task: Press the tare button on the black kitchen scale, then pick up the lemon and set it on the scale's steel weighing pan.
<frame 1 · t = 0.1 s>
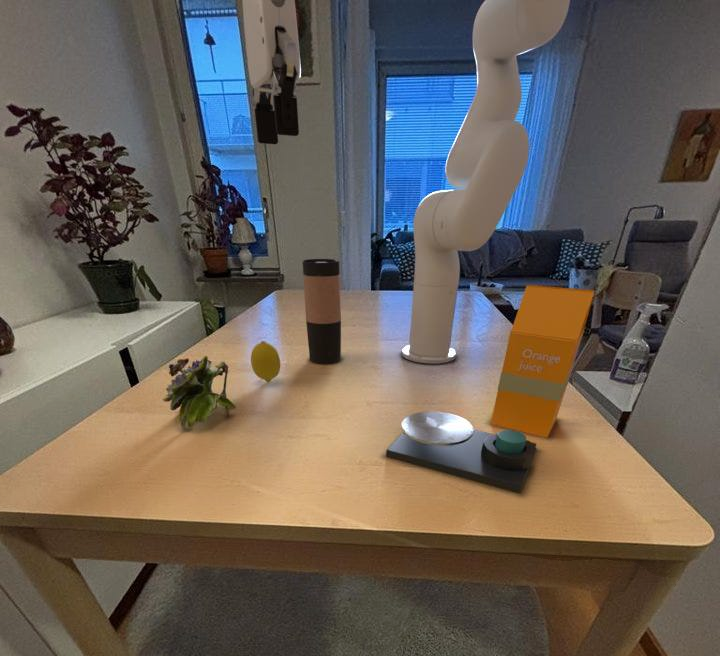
hand: (277, 139, 60), 37 cm above the table, tool pointing down, fingers open, 9 cm apart
lemon: (268, 383, 79), on the table
tare button: (510, 442, 51), point 3 cm above the table, slide at 0.1 cm
scale: (461, 453, 56), on the table
travel mug: (325, 360, 91), on the table
scale pan: (434, 447, 57), resting on scale
purple flowering plant: (208, 416, 66), on the table
orange juice: (523, 423, 64), on the table
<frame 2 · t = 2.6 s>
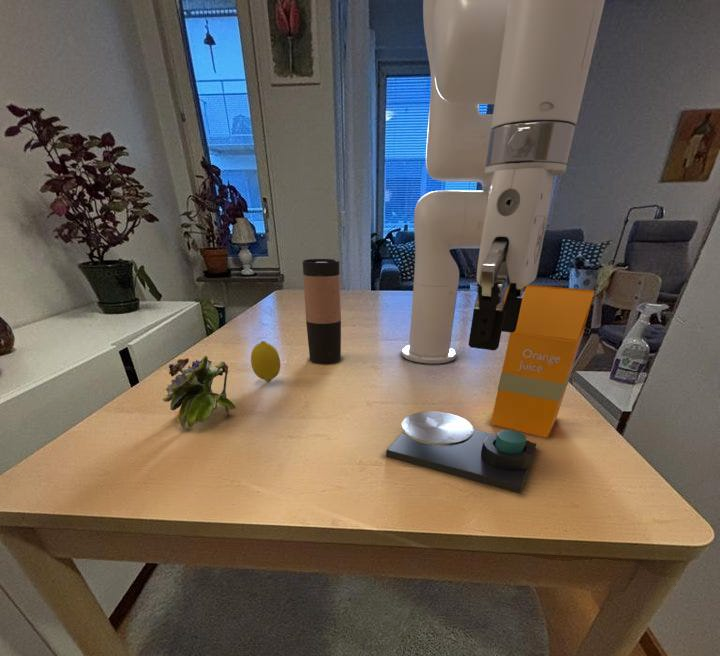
hand: (493, 338, 47), 16 cm above the table, tool pointing down, fingers open, 9 cm apart
nothing on the table moved.
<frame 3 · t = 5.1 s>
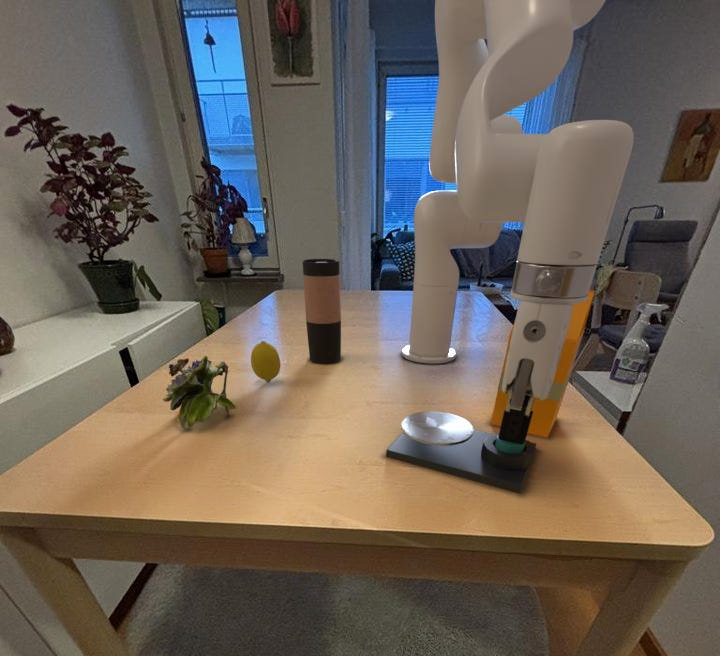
hand: (511, 439, 51), 4 cm above the table, tool pointing down, fingers closed
tare button: (509, 444, 52), point 3 cm above the table, slide at -0.3 cm, touching gripper
everything else where it was.
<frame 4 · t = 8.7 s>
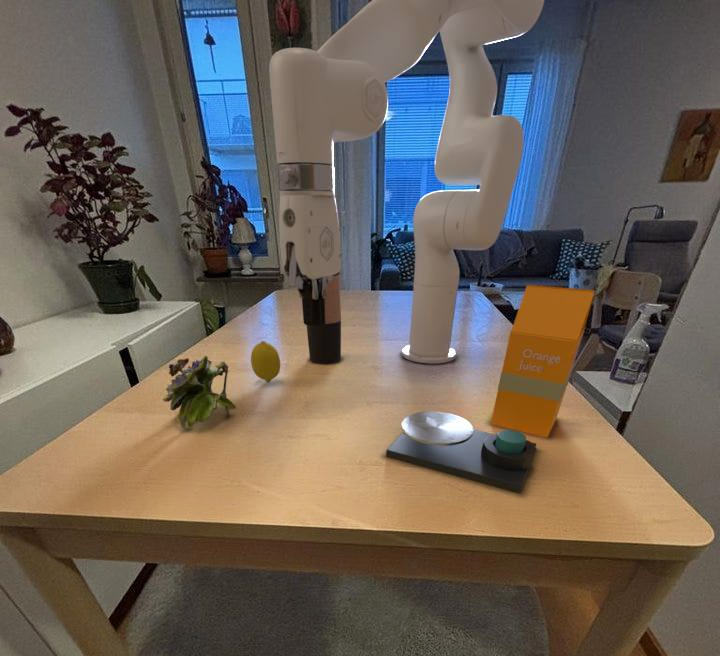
hand: (314, 324, 64), 13 cm above the table, tool pointing down, fingers closed
tare button: (510, 442, 51), point 3 cm above the table, slide at 0.1 cm
everything else where it was.
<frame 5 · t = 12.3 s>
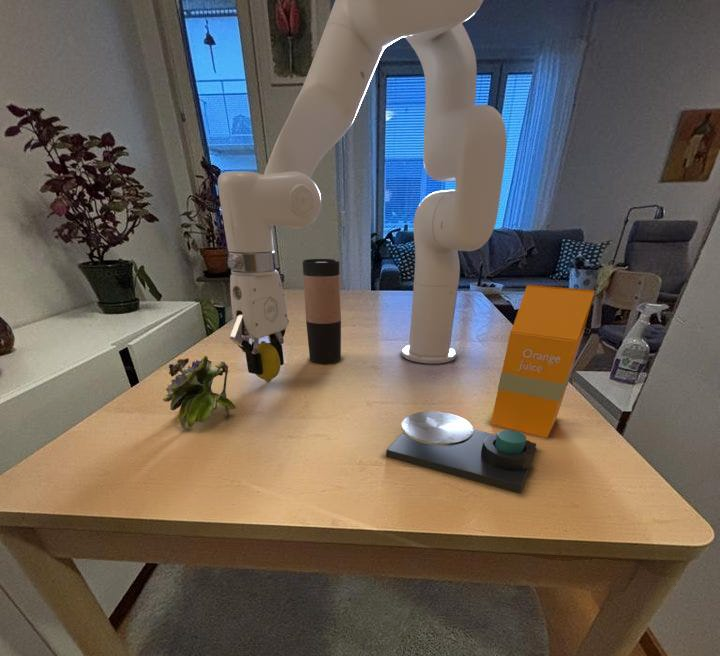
hand: (266, 367, 77), 3 cm above the table, tool pointing down, fingers closed on lemon, 5 cm apart
lemon: (268, 383, 79), on the table, touching gripper
everything else where it was.
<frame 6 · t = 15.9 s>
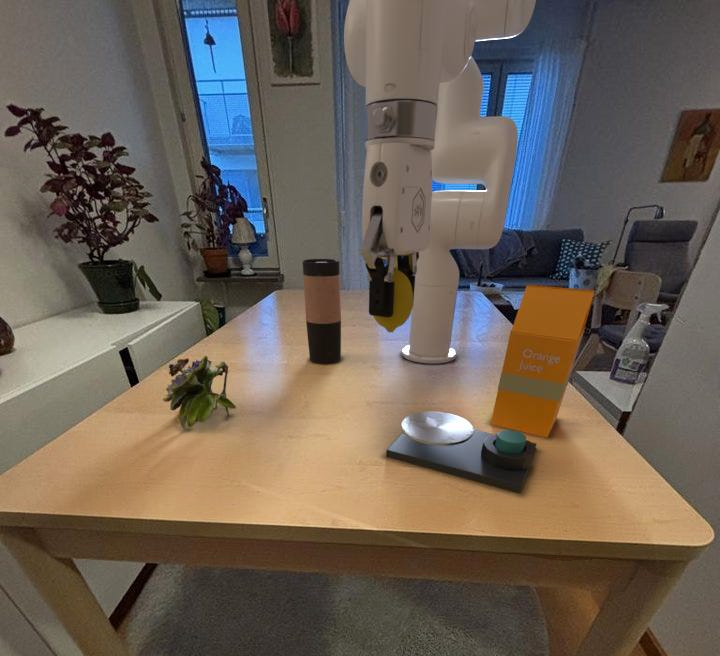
hand: (391, 309, 52), 17 cm above the table, tool pointing down, fingers closed on lemon, 5 cm apart
lemon: (390, 334, 54), point 14 cm above the table, touching gripper
everything else where it was.
when the fingers open (6 cm above the table, at t = 19.6 s): lemon stays where it is, resting on scale pan.
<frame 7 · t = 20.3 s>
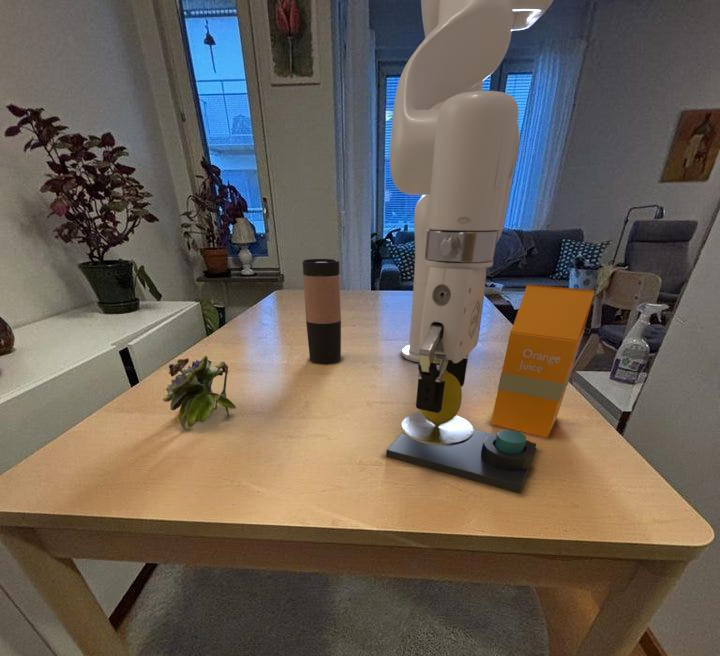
hand: (440, 396, 53), 8 cm above the table, tool pointing down, fingers open, 9 cm apart
lemon: (436, 427, 56), point 3 cm above the table, touching scale pan
everything else where it was.
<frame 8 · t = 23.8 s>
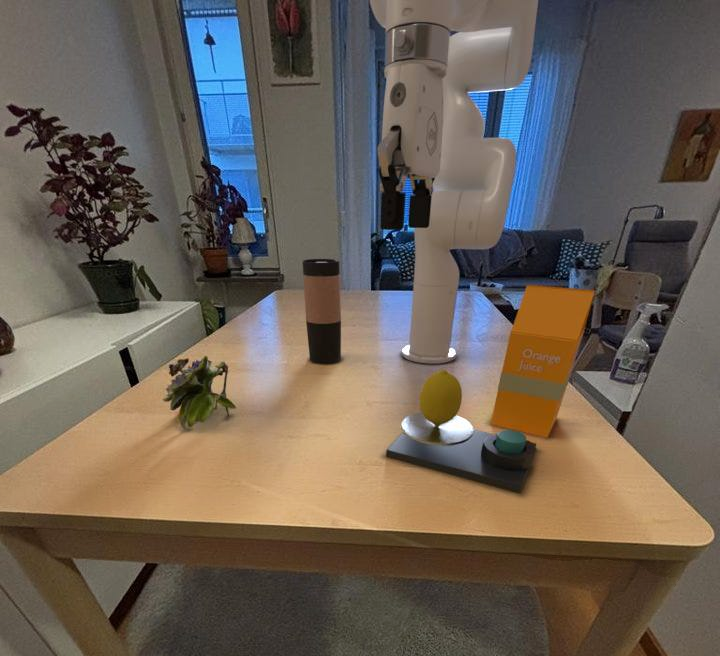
hand: (405, 228, 57), 26 cm above the table, tool pointing down, fingers open, 9 cm apart
nothing on the table moved.
at the end: tare button pushed in 1.1 cm at the most during the clip, back to where it started at the end; tare button slide at 0.1 cm; lemon inside the target area on the scale pan (0.1 cm from its centre), point 3.2 cm above the scale pan's base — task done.
